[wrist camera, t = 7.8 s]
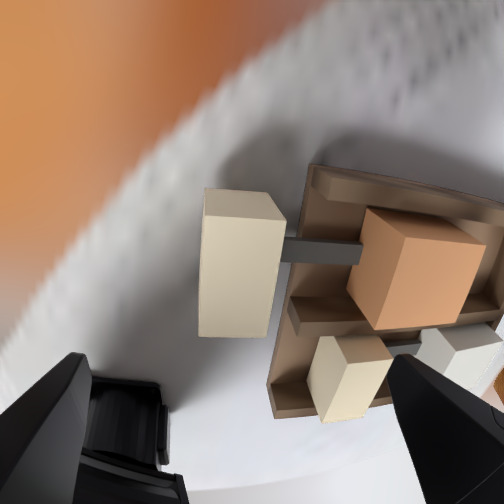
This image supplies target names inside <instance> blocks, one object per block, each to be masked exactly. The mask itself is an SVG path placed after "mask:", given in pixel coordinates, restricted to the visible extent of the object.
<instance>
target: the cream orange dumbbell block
mask: <svg viewBox="0 0 504 504" xmlns="http://www.w3.org/2000/svg"><path fill="white" fill-rule="evenodd" d="M286 222H287V221H286V219H285V218H284V216H283V215H282V213H281V212H280V210H279V209H278V207H277V206H276V204H275V203H274V202H273V200H272V199H271V197H270V196H269V194H268V193H265V192H254V191H241V190H227V189H213V188H205V192H204V205H203V219H202V234H201V251H200V269H199V295H198V337H224V338H266V336H267V330H268V325H269V320H270V314H271V309H272V303H273V298H274V292H275V287H276V281H277V275H278V270H279V264H280V262H291V263H315V264H339V265H352V269H351V273H350V276H349V280H348V283H347V287H346V290H347V291H348V292H349V294H350V295H351V297H352V298H353V300H354V301H355V303H356V304H357V305H358V307H359V308H360V310H361V311H362V313H363V314H364V316H365V317H366V319H367V320H368V322H369V323H370V324H371V326H372V327H373V329H374V330H383V329H396V328H408V327H420V326H430V325H440V324H449V323H455V322H456V320H457V317H458V315H459V313H460V311H461V309H462V307H463V304H464V302H465V300H466V297H467V295H468V293H469V290H470V288H471V285H472V283H473V281H474V278H475V275H476V273H477V270H478V268H479V265H480V262H481V260H482V257H483V254H484V251H485V248H486V245H485V244H483V243H482V242H480V241H479V240H477V239H476V238H474V237H473V236H471V235H470V234H468V233H466V232H465V231H463V230H462V229H460V228H459V227H457V226H455V225H454V224H452V223H451V222H449V221H447V220H446V219H441V218H435V217H428V216H422V215H415V214H408V213H401V212H393V211H386V210H378V209H370V208H367V209H366V213H365V218H364V222H363V226H362V230H361V234H360V238H359V242H358V241H344V240H330V239H315V238H300V237H285V236H284V234H285V228H286Z"/></svg>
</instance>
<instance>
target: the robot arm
mask: <svg viewBox="0 0 504 504" xmlns="http://www.w3.org/2000/svg"><path fill="white" fill-rule="evenodd" d="M386 378H387V383H388V387H389V390H390V394H391V398H392V401H393V405H394V409H395V413H396V416H397V420H398V423H399V425H400V428H401V431H402V434H403V436H404V439H405V442H406V445H407V448H408V450H409V453H410V456H411V459H412V462H413V465H414V468H415V470H416V474H417V477H418V480H419V483H420V486H421V489H422V492H423V495H424V498H425V502H426V504H504V413H502V412H501V411H499V410H498V409H496V408H494V407H493V406H490V404H488V403H486V402H485V401H483V400H482V399H480V398H479V397H477V396H475V395H474V394H472V393H471V392H469V391H467V390H466V389H464V388H463V387H461V386H460V385H458V384H456V383H455V382H453V381H452V380H450V379H449V378H447V377H445V376H444V375H442V374H441V373H439V372H438V371H436V370H434V369H433V368H431V367H430V366H428V365H426V364H425V363H423V362H422V361H420V360H419V359H417V358H415V357H414V356H412V355H411V354H409V353H403V354H397V355H396V356H395V358H394V359H393V361H392V364H391V366H390V368H389V369H388V372H387V375H386ZM169 453H170V417H169V408H168V406H167V405H164V404H163V399H162V390H161V386H160V385H159V384H157V383H150V382H137V381H126V380H116V379H107V378H98V377H92V375H91V371H90V368H89V364H88V360H87V357H86V355H85V354H83V353H76V352H71V353H69V354H68V355H67V356H66V357H65V358H64V359H62V360H61V361H60V362H59V363H58V364H57V365H55V366H54V367H53V368H52V369H51V370H50V371H49V372H47V373H46V374H45V375H44V376H43V377H42V378H41V379H40V380H38V381H37V382H36V383H35V384H34V385H33V386H32V387H30V388H29V389H28V390H27V391H26V392H25V393H24V394H23V395H22V396H20V397H19V398H18V399H17V400H16V401H15V402H14V403H13V404H12V405H11V406H9V407H8V408H7V409H6V410H5V411H4V412H3V413H2V414H1V415H0V504H189V500H188V496H187V492H186V488H185V484H184V480H183V476H182V475H180V474H175V473H174V474H170V473H166V472H162V471H161V465H168V464H169Z"/></svg>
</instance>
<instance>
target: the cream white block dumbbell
mask: <svg viewBox="0 0 504 504" xmlns="http://www.w3.org/2000/svg"><path fill="white" fill-rule="evenodd" d="M502 343H503V340H502V339H501V338H500V337H499V336H498V335H497V334H496V333H495V332H494V331H493V330H492V329H491V328H490V327H489V326H488V325H487V324H486V323H485V322H480V323H473V324H465V325H458V326H450V327H441V328H433V329H423V330H422V331H421V333H420V335H419V337H418V339H416V340H407V341H398V342H388V343H383V342H382V340H381V339H380V337H379V336H378V334H362V335H344V336H322V337H320V339H319V342H318V345H317V349H316V352H315V355H314V358H313V361H312V364H311V367H310V370H309V373H308V376H307V379H306V381H307V384H308V387H309V390H310V393H311V396H312V398H313V401H314V404H315V407H316V410H317V413H318V415H319V418H320V421H321V424H324V423H332V422H339V421H345V420H351V419H357V418H363V416H364V414H365V413H366V411H367V409H368V407H369V405H370V404H371V402H372V400H373V398H374V396H375V395H376V393H377V391H378V389H379V387H380V385H381V383H382V381H383V380H384V378H385V376H386V374H387V372H388V369H389V368H390V366H391V364H392V361H393V359H394V358H395V356H396V355H397V354H403V353H409V354H411V355H412V356H414V357H415V358H417V359H419V360H420V361H422V362H423V363H425V364H426V365H428V366H430V367H431V368H433V369H434V370H436V371H438V372H439V373H441V374H442V375H444V376H445V377H447V378H449V379H450V380H452V381H453V382H455V383H456V384H458V385H460V386H461V387H463V388H464V389H466V390H469V389H472V388H475V387H476V385H477V384H478V382H479V381H480V379H481V378H482V376H483V375H484V373H485V371H486V370H487V368H488V367H489V365H490V363H491V362H492V360H493V358H494V357H495V355H496V353H497V352H498V350H499V348H500V346H501V345H502Z"/></svg>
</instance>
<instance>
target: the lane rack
mask: <svg viewBox="0 0 504 504" xmlns="http://www.w3.org/2000/svg"><path fill="white" fill-rule="evenodd" d="M367 208H370V209H378V210H386V211H393V212H401V213H408V214H415V215H422V216H428V217H435V218H441V219H446V220H447V221H449V222H451V223H452V224H454V225H455V226H457V227H459V228H460V229H462V230H463V231H465V232H466V233H468V234H470V235H471V236H473V237H474V238H476V239H477V240H479V241H480V242H482V243H483V244H485V245H486V248H485V251H484V254H483V257H482V260H481V262H480V265H479V268H478V270H477V273H476V275H475V278H474V281H473V283H472V285H471V288H470V290H469V293H468V295H467V297H466V300H465V302H464V304H463V307H462V309H461V311H460V313H459V315H458V317H457V320H456V322H455V323H449V324H440V325H430V326H420V327H408V328H396V329H383V330H374V329H373V327H372V326H371V324H370V323H369V322H368V320H367V319H366V317H365V316H364V314H363V313H362V311H361V310H360V308H359V307H358V305H357V304H356V303H355V301H354V300H353V298H352V297H351V295H350V294H349V292H348V291H347V290H346V287H347V283H348V280H349V276H350V273H351V269H352V265H339V264H315V263H292V264H291V269H290V274H289V280H288V285H287V290H286V295H285V300H284V305H283V310H282V315H281V319H280V324H279V329H278V334H277V338H276V343H275V348H274V352H273V357H272V362H271V366H270V371H269V375H268V379H267V384H266V386H267V390H268V394H269V399H270V403H271V407H272V412H273V416H274V419H283V418H295V417H306V416H315V415H318V413H317V410H316V407H315V404H314V401H313V398H312V396H311V393H310V390H309V387H308V384H307V381H306V379H307V376H308V373H309V370H310V367H311V364H312V361H313V358H314V355H315V352H316V349H317V345H318V342H319V339H320V337H322V336H344V335H362V334H378V336H379V337H380V339H381V340H382V342H383V343H388V342H398V341H407V340H416V339H418V337H419V335H420V333H421V331H422V330H423V329H433V328H441V327H450V326H458V325H465V324H473V323H480V322H485V323H486V324H487V325H488V326H489V327H490V328H491V329H492V330H493V331H494V332H495V330H496V328H497V326H498V324H499V323H500V321H501V319H502V316H503V314H504V204H503V203H499V202H496V201H492V200H489V199H485V198H481V197H477V196H474V195H470V194H466V193H462V192H458V191H454V190H450V189H445V188H441V187H437V186H432V185H428V184H423V183H418V182H414V181H409V180H404V179H399V178H394V177H389V176H383V175H378V174H372V173H367V172H361V171H355V170H349V169H342V168H336V167H329V166H322V165H315V164H309V167H308V173H307V180H306V186H305V192H304V197H303V203H302V209H301V215H300V220H299V226H298V232H297V237H300V238H315V239H330V240H344V241H358V242H359V238H360V234H361V230H362V226H363V222H364V218H365V213H366V209H367ZM386 375H387V374H386ZM392 403H393V401H392V398H391V394H390V390H389V387H388V383H387V378H386V376H385V378H384V380H383V381H382V383H381V385H380V387H379V389H378V391H377V393H376V395H375V396H374V398H373V400H372V402H371V404H370V405H369V407H368V408H371V407H377V406H382V405H387V404H392Z"/></svg>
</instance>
